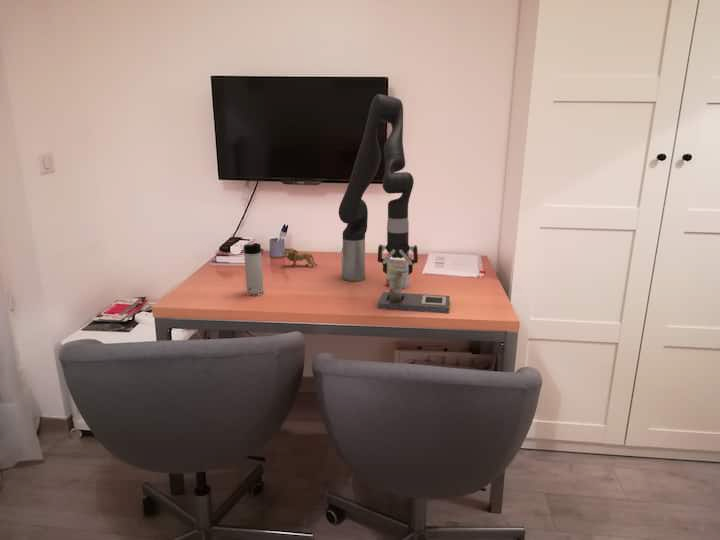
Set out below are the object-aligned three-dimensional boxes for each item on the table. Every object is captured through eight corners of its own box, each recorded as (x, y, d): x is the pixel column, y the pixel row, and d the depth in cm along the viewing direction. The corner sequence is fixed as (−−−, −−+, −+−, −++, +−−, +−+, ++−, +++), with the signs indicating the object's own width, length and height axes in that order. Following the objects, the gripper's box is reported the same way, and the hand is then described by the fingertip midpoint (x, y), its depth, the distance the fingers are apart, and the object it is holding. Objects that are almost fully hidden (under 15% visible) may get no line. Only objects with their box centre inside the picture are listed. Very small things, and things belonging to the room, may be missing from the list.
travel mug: (250, 297, 201) (246, 246, 195) (245, 292, 207) (241, 242, 201) (266, 294, 204) (262, 244, 198) (260, 289, 210) (257, 240, 204)
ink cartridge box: (385, 286, 213) (386, 250, 209) (388, 282, 218) (389, 247, 213) (406, 288, 211) (407, 252, 206) (409, 284, 215) (410, 249, 211)
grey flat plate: (378, 308, 191) (378, 302, 190) (382, 296, 202) (382, 291, 201) (448, 313, 186) (448, 307, 185) (449, 300, 197) (449, 295, 197)
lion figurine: (284, 268, 235) (283, 249, 233) (284, 265, 240) (283, 246, 238) (317, 267, 237) (317, 248, 234) (317, 264, 242) (316, 245, 239)
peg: (388, 305, 194) (389, 273, 190) (390, 300, 198) (390, 270, 194) (400, 306, 193) (401, 274, 189) (401, 301, 197) (402, 270, 193)
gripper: (418, 227, 189) (418, 271, 194) (379, 227, 192) (379, 269, 196) (417, 232, 182) (416, 277, 187) (376, 231, 185) (376, 276, 189)
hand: (397, 273), depth 192 cm, fingers open, 8 cm apart
